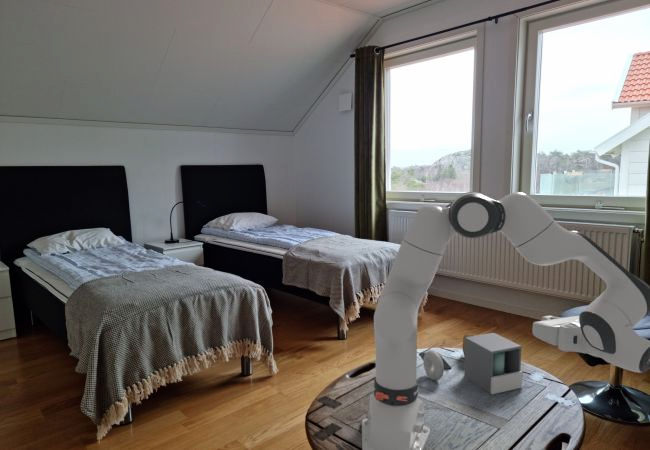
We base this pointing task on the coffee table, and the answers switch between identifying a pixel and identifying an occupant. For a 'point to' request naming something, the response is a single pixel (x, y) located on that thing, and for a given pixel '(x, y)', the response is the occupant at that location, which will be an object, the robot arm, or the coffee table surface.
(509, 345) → the housing
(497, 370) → the sage green cylinder
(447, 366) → the smartphone
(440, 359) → the donut
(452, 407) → the coffee table surface
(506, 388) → the tray
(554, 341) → the robot arm
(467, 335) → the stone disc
